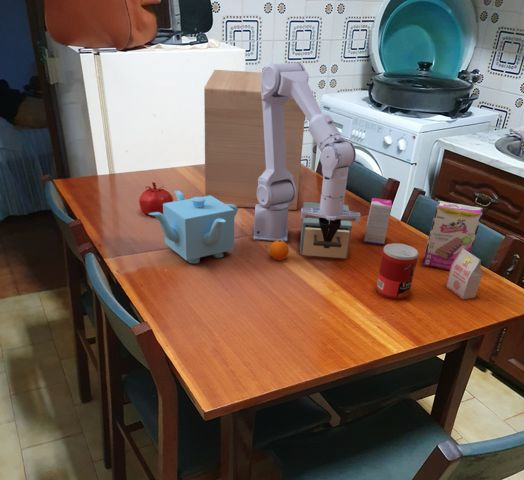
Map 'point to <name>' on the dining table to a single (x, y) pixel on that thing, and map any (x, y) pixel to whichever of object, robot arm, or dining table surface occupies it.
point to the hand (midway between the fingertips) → (326, 246)
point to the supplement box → (378, 221)
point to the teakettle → (198, 226)
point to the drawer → (325, 243)
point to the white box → (465, 275)
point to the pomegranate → (154, 199)
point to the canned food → (396, 270)
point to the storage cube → (243, 138)
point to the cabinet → (316, 223)
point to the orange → (279, 249)
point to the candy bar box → (451, 233)
